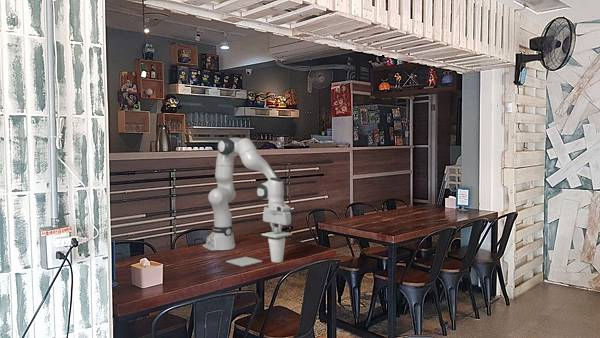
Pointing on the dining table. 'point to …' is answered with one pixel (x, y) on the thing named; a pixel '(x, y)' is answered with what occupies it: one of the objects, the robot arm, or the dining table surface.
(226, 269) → the dining table surface
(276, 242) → the foam cup
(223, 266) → the dining table surface
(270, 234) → the lid
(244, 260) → the mat
